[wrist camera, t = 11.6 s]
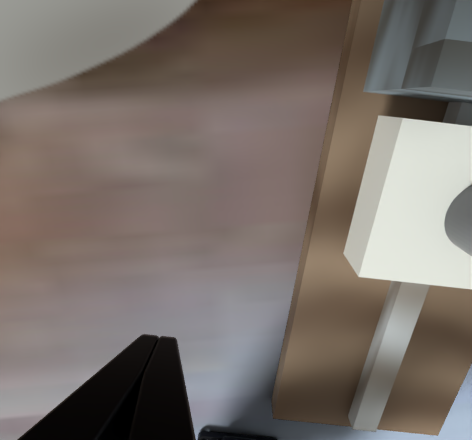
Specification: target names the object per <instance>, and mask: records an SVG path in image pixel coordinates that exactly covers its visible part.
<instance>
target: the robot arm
mask: <svg viewBox="0 0 472 440" xmlns="http://www.w3.org/2000/svg"><path fill="white" fill-rule="evenodd" d="M18 440H196V439H195V434H194V428H193V423H192V418H191V412H190V407H189V402H188V397H187V391H186V386H185V381H184V375H183V370H182V365H181V359H180V354H179V349H178V344H177V339H176V338H174V337H166V336H161V337H160V338H159V337H158V336H156V335H147V334H143V335H141V336H140V337H138V338H137V339H136V340H135V341H134V342H132V343H131V344H130V345H129V346H128V347H127V348H125V349H124V350H123V351H122V352H121V353H119V354H118V355H117V356H116V357H115V358H114V359H112V360H111V361H110V362H109V363H108V364H106V365H105V366H104V367H103V368H102V369H101V370H99V371H98V372H97V373H96V374H95V375H93V376H92V377H91V378H90V379H89V380H87V381H86V382H85V383H84V384H83V385H82V386H80V387H79V388H78V389H77V390H76V391H74V392H73V393H72V394H71V395H70V396H69V397H67V398H66V399H65V400H64V401H63V402H61V403H60V404H59V405H58V406H57V407H56V408H54V409H53V410H52V411H51V412H50V413H48V414H47V415H46V416H45V417H44V418H42V419H41V420H40V421H39V422H38V423H37V424H35V425H34V426H33V427H32V428H31V429H29V430H28V431H27V432H26V433H25V434H24V435H22V436H21V437H20V438H19V439H18ZM198 440H277V439H274V438H266V437H256V436H246V435H236V434H226V433H216V432H207V431H202V432H200V433H199V434H198Z"/></svg>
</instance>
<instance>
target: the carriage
mask: <svg viewBox="0 0 472 440" xmlns="http://www.w3.org/2000/svg"><path fill="white" fill-rule="evenodd" d="M343 254H344V255H345V257H346V258H347V260H348V261H349V263H350V265H351V266H352V268H353V269H354V271H355V272H356V274H357V275H358V277H364V278H373V279H382V280H391V281H400V282H409V283H418V284H427V285H436V286H445V287H454V288H463V289H472V126H465V125H457V124H449V123H440V122H432V121H424V120H415V119H407V118H398V117H389V116H380V115H378V119H377V123H376V127H375V131H374V135H373V139H372V143H371V147H370V151H369V155H368V159H367V163H366V166H365V170H364V174H363V178H362V182H361V186H360V190H359V194H358V198H357V202H356V206H355V210H354V214H353V218H352V222H351V226H350V230H349V234H348V238H347V241H346V245H345V249H344V253H343Z"/></svg>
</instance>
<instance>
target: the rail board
mask: <svg viewBox="0 0 472 440" xmlns="http://www.w3.org/2000/svg"><path fill="white" fill-rule="evenodd" d="M378 115H380V116H389V117H398V118H407V119H415V120H424V121H432V122H440V123H449V124H457V125H465V126H472V0H352V5H351V10H350V15H349V20H348V25H347V30H346V35H345V39H344V44H343V49H342V54H341V59H340V64H339V69H338V74H337V79H336V84H335V89H334V94H333V99H332V104H331V109H330V113H329V118H328V123H327V128H326V133H325V138H324V143H323V148H322V153H321V158H320V163H319V168H318V173H317V178H316V183H315V187H314V192H313V197H312V202H311V207H310V212H309V217H308V222H307V227H306V232H305V237H304V242H303V247H302V252H301V257H300V261H299V266H298V271H297V276H296V281H295V286H294V291H293V296H292V301H291V306H290V311H289V316H288V321H287V326H286V331H285V336H284V340H283V345H282V350H281V355H280V360H279V365H278V370H277V375H276V380H275V385H274V390H273V395H272V400H271V402H272V413H273V419H282V420H291V421H301V422H311V423H321V424H330V425H340V426H350V427H352V429H353V430H363V431H372V432H376V430H377V429H379V430H389V431H398V432H408V433H418V434H427V435H437V436H438V434H439V432H440V430H441V428H442V425H443V423H444V421H445V419H446V417H447V415H448V413H449V411H450V408H451V406H452V404H453V402H454V400H455V398H456V396H457V393H458V391H459V389H460V387H461V385H462V383H463V381H464V379H465V376H466V374H467V372H468V370H469V368H470V366H471V364H472V289H463V288H454V287H445V286H436V285H427V284H418V283H409V282H400V281H391V280H382V279H373V278H364V277H358V275H357V274H356V272H355V271H354V269H353V268H352V266H351V265H350V263H349V261H348V260H347V258H346V257H345V255H344V254H343V253H344V249H345V245H346V241H347V238H348V234H349V230H350V226H351V222H352V218H353V214H354V210H355V206H356V202H357V198H358V194H359V190H360V186H361V182H362V178H363V174H364V170H365V166H366V163H367V159H368V155H369V151H370V147H371V143H372V139H373V135H374V131H375V127H376V123H377V119H378Z"/></svg>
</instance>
